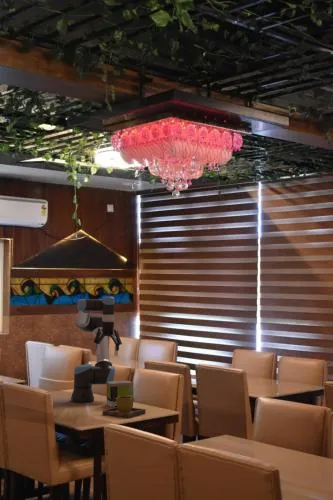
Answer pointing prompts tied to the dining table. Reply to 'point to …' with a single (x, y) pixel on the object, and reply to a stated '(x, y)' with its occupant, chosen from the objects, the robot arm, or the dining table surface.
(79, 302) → the robot arm
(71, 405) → the dining table surface
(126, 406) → the flower pot
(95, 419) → the dining table surface
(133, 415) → the walnut tray
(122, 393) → the tea box
